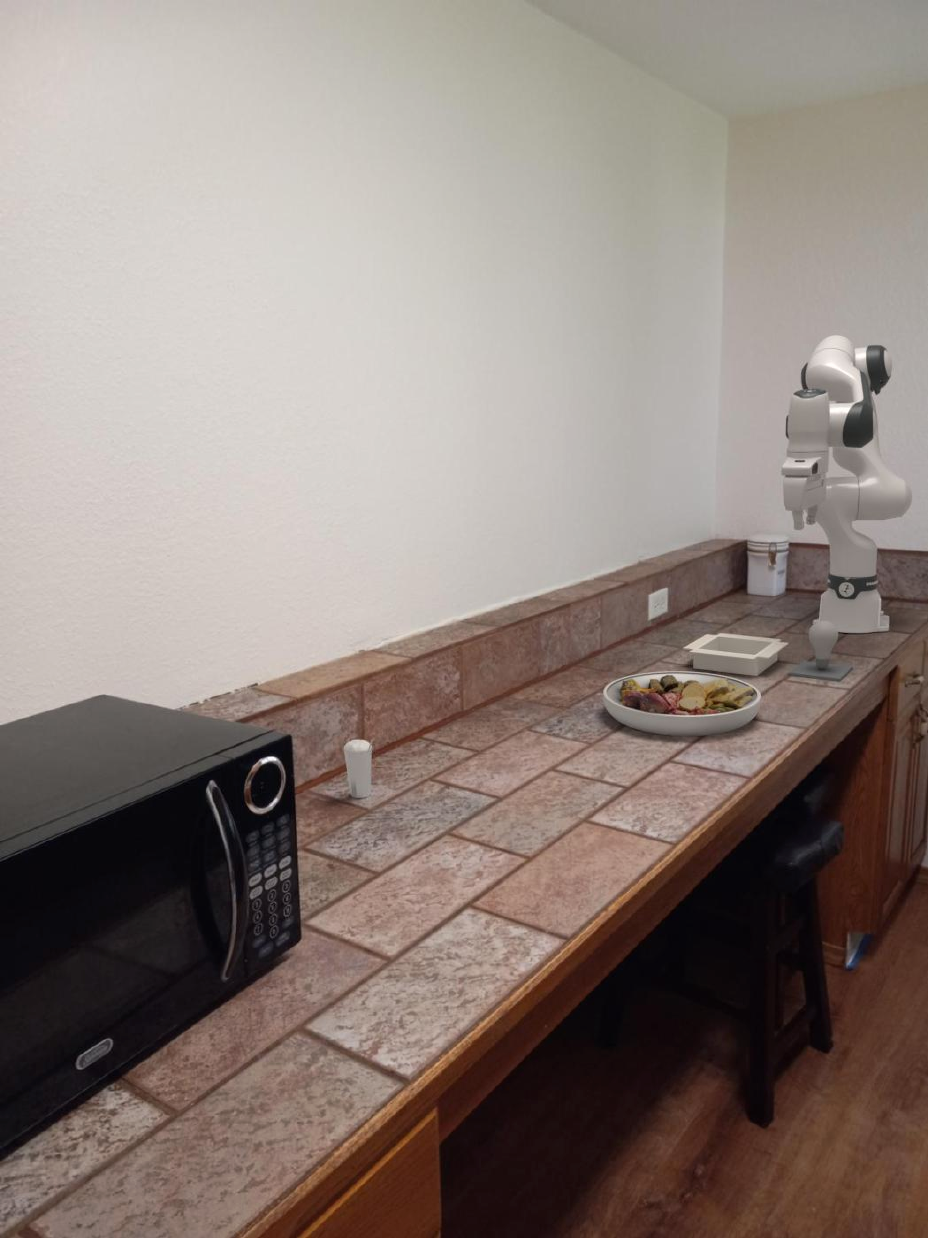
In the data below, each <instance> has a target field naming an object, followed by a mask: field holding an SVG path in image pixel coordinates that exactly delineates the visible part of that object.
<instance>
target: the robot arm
mask: <svg viewBox="0 0 928 1238" xmlns="http://www.w3.org/2000/svg"><path fill="white" fill-rule="evenodd" d="M811 353H812V354H810V358H809V360H808V361H807V362H806V363H805V364H804V365H803V367H802V368H801V372H800V385H801V388H802V389H800V390H797V391H795V392H792V394H791V398H790V402H789V409H788V414H787V416H786V417H785V437H786V438H787V440H788V445H787V448H786V458H785V461H784V463H783V465H782V466H781V472H780V473H781V476H784V477H783V483H782V484H783V490H782V491H783V506H784V509H785V511H787V512H790V511H791V512H792V513H791V515H792V516H791V517H792V519H793V529H794V530H795V531H801V530H803V529H804V528H805V523H806V525H809V526H810V525H811V526H812V525H815V524H816V523H817V524H818V525H819V527H821V529H822V530H823V532H824V533H825V535H826V539H827V541H828V546H829V563H830V564H829V565H830V566H829V572H828V573H827V580H826V581H827V587H828V588H827V590H825V591H824V592H822V593H821V595H820V603H819V604H820V605H819V606H820V607H819V613H818V614H819V615H818V616H819V617H818V618H815V619H813V621H812V624H815V623H816V622H819V621H828V622H830V623H832V624H834V625H835V627H836V628H837V630H838V633H845V634H846V633H847V634H868V633H875V632H876V633H877V632H889V631H890V616H889V615H888V614H887V615H886V614H885V611H884V610H882V598H881V595H880V592H879V591H878V587H879V584H878V583H879V579H878V572H877V562H878V561H877V559H878V556H877V555H878V547H877V544H876V542H875V540H873V539H872V538H871V537H869V536H867V535H865V534H864V533H861V532H858V531H857V530H855V529H854V528H853V522H854V521H886V520H891V519H896V518H901V517H903V516H904V515H905V514H906V513H907V512H908V511H909V509H910V507H911V505H912V502H913V493H912V492H913V491H912V489H911V486H910V485H909V484H908V483H907V481H906V480H905V479H904V478H902V477H900V476H898V475H897V474H895V473H894V472H893V471H892V470H891V469H890V468H889V467H888V466H887V465H886V462H885V461H884V459H883V457H882V455H881V451H880V442H879V441H880V440H879V423H878V421H879V420H878V414H877V409H876V404H875V400H874V398H873V392H874V395H876V396H878V395H879V394H881V391H882V389H883V388H885V387H886V386H887V384H888V383H889V380H890V379H891V376H892V370H893V361H892V360H893V359H892V358H891V355H890V353H889V352H888V350H887V348H886V347H885V346H883V345H882V344H881V345H880V344H874V345H873V344H871V345H868V346H865V347H864V346H863V347H857V348H856V347H855V346H854V344H853V342H852V341H851V340H850V339H849V338H848V337H845V336H843V335H837V334H834V335H830V336H827V337H825V338H823V340H821V341H820V342H819V343H818V344H817V346H816V347H815V349H814V350H813V351H812V352H811ZM831 401H832V402H835V403H830V402H831ZM830 448H831V449H832V458H833V460H834V461H835V463H836V465H838V466H839V467H840V468H842V469H843V470H846V471H848V472H851V473H852V474H853V475H854V476H831V477H827V474H826V473H828V472H829V465H830V464H829V462H830V461H829V460H830V459H829V458H830ZM804 513H806V514H807V516H806V517H805V519H806V521H804Z"/></svg>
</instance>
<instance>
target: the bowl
mask: <svg viewBox="0 0 928 1238" xmlns="http://www.w3.org/2000/svg"><path fill="white" fill-rule="evenodd" d="M602 698H603V704H604V707H605V709H606V710H607V712H608V713H609V714H610V715H611V716H612V717H613V718H614V719H615V720H616V721H618V722H619V723H621V724H622V725H624V726H627V727H628V728H631V729H634V730H637V731H641V732H645V733H650V734H656V735H661V736H662V735H663V736H670V737H673V736H674V737H701V736H702V737H703V736H704V737H705V736H712V735H713V736H714V735H720V734H723V733H728V732H732V731H734V730H738V729H739V728H742V727H744V726H745V725H747V724H749V723H750V722H751V721H752V720H753V719H754V718H755V717H756V716H757V714H758V713H759V711H760V708H761V704H762V694H761V692H760V690H759V689H758V688H756V687H755V686H754V685H752V684H751V683H749V682H746V681H744V680H740V679H738V678H735V677H731V676H726V675H722V674H717V673H716V674H715V673H709V672H700V671H699V672H698V671H688V670H687V671H686V670H683V671H681V670H677V671H676V670H670V671H667V670H666V671H653V672H652V671H651V672H645V673H644V672H643V673H637V674H632V675H628V676H624V677H620V678H617V679H615V680H613V681H610V683H607V684H606V685H605V687H604V688H603V691H602Z"/></svg>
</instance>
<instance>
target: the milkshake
mask: <svg viewBox="0 0 928 1238" xmlns="http://www.w3.org/2000/svg"><path fill="white" fill-rule="evenodd" d="M373 741H374V738H371V740H370V742H369V741H368V740H365V739H351V740H350V741H348V742H346V744H345V745H344V746H343V753H344V760H345V765H346V766H345V767H346V773H347V779H348V781H347V782H348V787H349V794H350V796H351V797H352V798H353V799H354V798H355V799H364V798H368V797H369V796H370V795H371V793H372V757H373V756H372V754H373V745H372V744H373Z"/></svg>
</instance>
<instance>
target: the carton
mask: <svg viewBox="0 0 928 1238" xmlns="http://www.w3.org/2000/svg"><path fill="white" fill-rule="evenodd" d="M789 644H790V643H789V642H786V641H785V642H783V641H782V639H780V638H771V637H761V636H751V635H743V634H735V633H734V634H733V633H724V632H723V633H722V632H720V633H718V634H708V633H706V634H704V635H702V636H701V637H699V638H697V639H696V640H694V641H692V642H690V643H689V644H687V645H686V646H684V647H683V648H682V649H683V650H688V651H689V650H690V651H689V654H693V655H692V656H693V658H692V659H693V663H692V666H693V669H699V670H705V671H713V672H719V673H720V672H722V673H729V674H735V675H736V674H737V675H743V676H744V675H745V676H752V677H758V676H759V675H760V674H761V673H763V672H764V671H765V670H767V669H768V668H769V667H771V666H772V665H773V664H775V663H776V662H777V661H778V653H779V652H780V651H782V650H783V649H784V648H786V647H787V646H788V645H789Z"/></svg>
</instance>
